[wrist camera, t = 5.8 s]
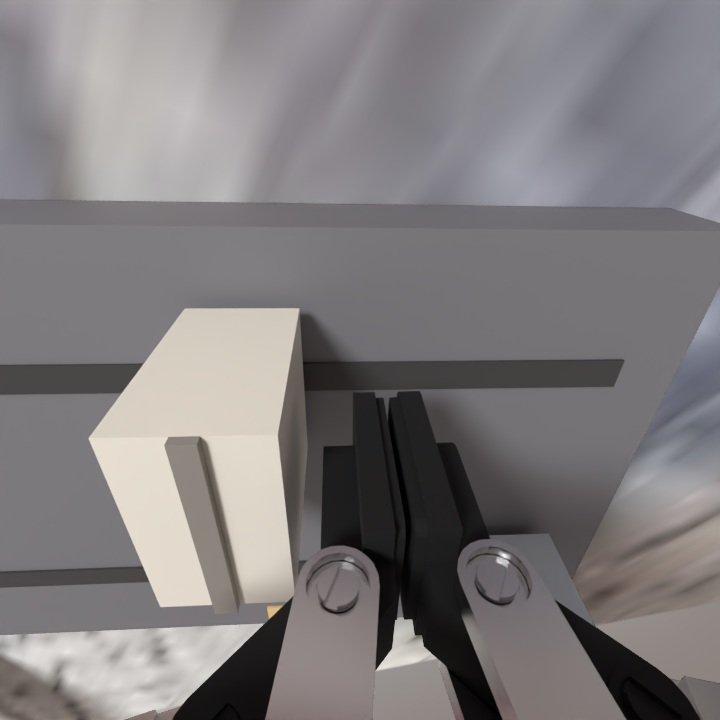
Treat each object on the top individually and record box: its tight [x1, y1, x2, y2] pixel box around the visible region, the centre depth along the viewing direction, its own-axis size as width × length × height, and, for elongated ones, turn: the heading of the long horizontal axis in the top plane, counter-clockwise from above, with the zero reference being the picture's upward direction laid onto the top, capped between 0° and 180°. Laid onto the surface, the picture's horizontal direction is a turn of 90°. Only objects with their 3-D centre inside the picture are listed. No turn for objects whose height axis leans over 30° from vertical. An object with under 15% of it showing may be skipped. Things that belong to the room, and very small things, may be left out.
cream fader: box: [88, 308, 308, 614], centre depth 10 cm, size 5×3×5 cm, turn 179°
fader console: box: [0, 200, 720, 635], centre depth 16 cm, size 19×28×3 cm
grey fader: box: [489, 533, 595, 626], centre depth 16 cm, size 5×3×5 cm, turn 179°
